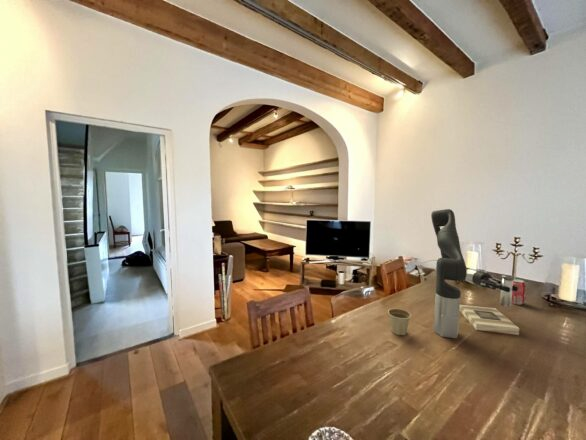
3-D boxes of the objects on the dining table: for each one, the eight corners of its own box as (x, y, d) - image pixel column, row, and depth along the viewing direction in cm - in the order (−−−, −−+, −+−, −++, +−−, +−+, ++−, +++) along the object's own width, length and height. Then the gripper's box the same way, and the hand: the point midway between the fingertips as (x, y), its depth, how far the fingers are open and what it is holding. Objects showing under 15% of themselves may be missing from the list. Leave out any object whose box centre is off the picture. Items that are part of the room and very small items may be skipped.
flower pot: (386, 334, 108) (386, 315, 107) (388, 324, 117) (389, 306, 116) (409, 340, 104) (410, 320, 103) (410, 329, 112) (411, 311, 111)
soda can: (527, 305, 137) (529, 282, 135) (514, 305, 137) (516, 282, 136) (516, 300, 144) (517, 278, 142) (503, 299, 144) (505, 278, 143)
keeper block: (518, 334, 108) (519, 327, 107) (476, 329, 112) (476, 322, 112) (494, 313, 127) (495, 307, 126) (459, 310, 131) (459, 304, 131)
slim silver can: (514, 307, 113) (516, 278, 112) (501, 306, 114) (504, 277, 113) (508, 303, 118) (511, 275, 116) (496, 302, 119) (499, 274, 118)
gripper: (466, 271, 127) (502, 282, 110) (488, 269, 130) (526, 280, 114) (465, 285, 128) (500, 299, 111) (487, 283, 131) (524, 296, 114)
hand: (513, 289), depth 113 cm, fingers closed on slim silver can, 4 cm apart
